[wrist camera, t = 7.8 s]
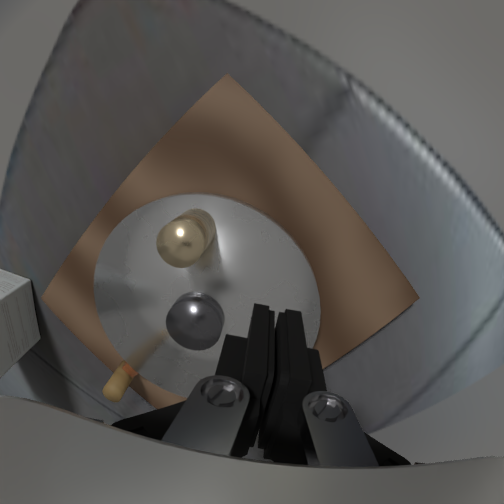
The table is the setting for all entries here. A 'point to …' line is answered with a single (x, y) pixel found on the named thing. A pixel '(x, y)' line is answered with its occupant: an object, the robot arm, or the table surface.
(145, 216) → the flange plate
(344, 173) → the table surface
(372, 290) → the base board
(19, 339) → the supplement box
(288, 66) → the table surface
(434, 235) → the table surface
